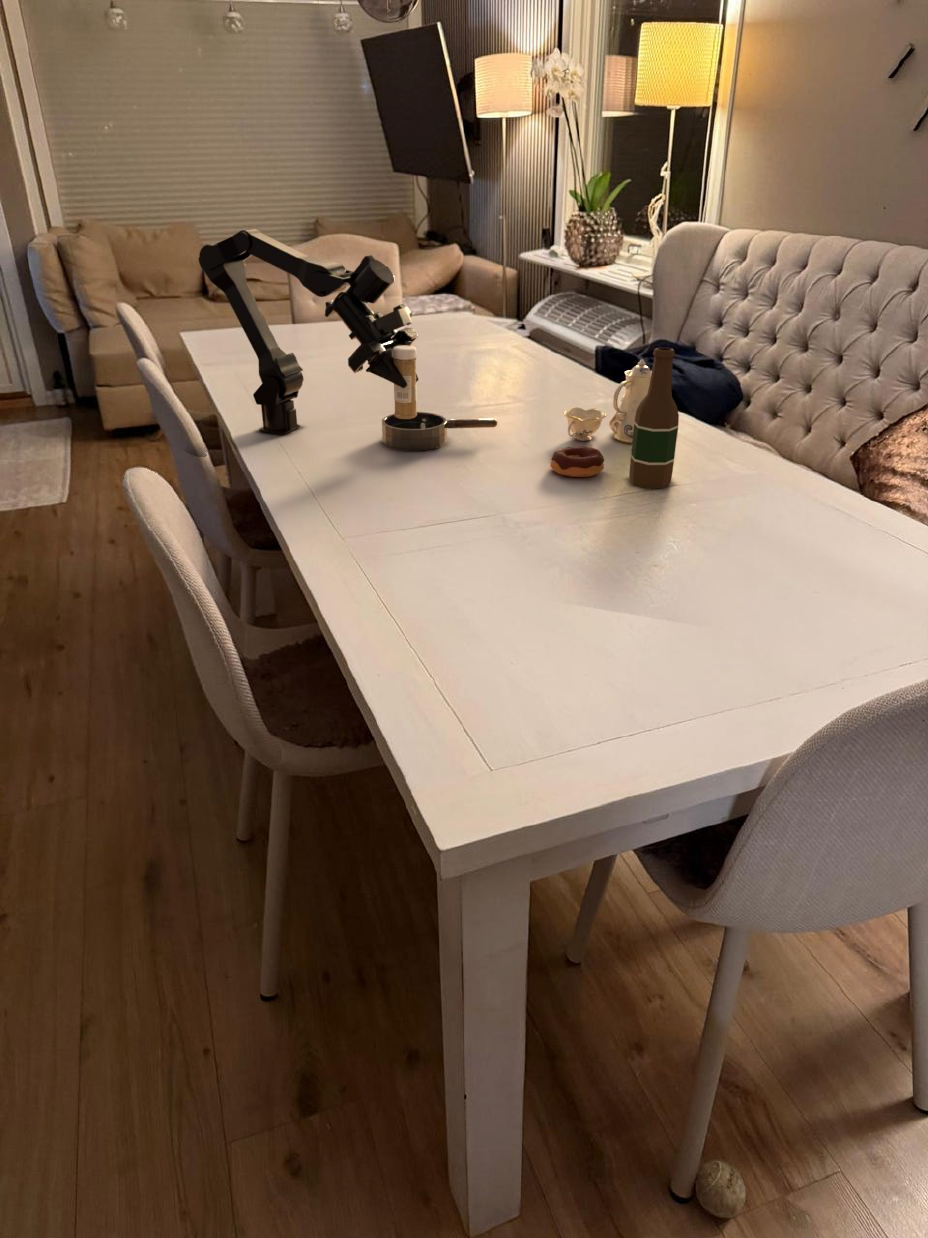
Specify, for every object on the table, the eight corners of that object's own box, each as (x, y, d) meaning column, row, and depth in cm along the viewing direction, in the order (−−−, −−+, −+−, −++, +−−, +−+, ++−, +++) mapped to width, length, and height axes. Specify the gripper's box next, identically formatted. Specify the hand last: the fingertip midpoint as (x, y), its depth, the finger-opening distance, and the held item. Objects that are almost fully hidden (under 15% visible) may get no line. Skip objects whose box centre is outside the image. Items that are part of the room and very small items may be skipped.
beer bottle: (673, 477, 167) (690, 345, 156) (668, 491, 160) (684, 354, 149) (632, 472, 169) (645, 342, 158) (624, 486, 163) (638, 351, 151)
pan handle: (445, 429, 184) (445, 420, 183) (444, 427, 185) (444, 418, 184) (497, 428, 185) (498, 419, 184) (496, 425, 186) (496, 417, 186)
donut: (543, 476, 167) (544, 455, 165) (557, 460, 175) (558, 440, 173) (597, 482, 164) (598, 461, 162) (608, 466, 172) (610, 446, 170)
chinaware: (632, 421, 205) (633, 346, 198) (695, 429, 194) (698, 350, 187) (552, 447, 188) (550, 365, 181) (617, 457, 177) (617, 371, 170)
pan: (383, 452, 179) (382, 430, 177) (381, 433, 190) (380, 412, 188) (449, 450, 180) (449, 428, 178) (443, 431, 192) (443, 410, 189)
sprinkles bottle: (421, 415, 178) (421, 346, 172) (408, 421, 175) (407, 350, 168) (402, 412, 180) (401, 343, 174) (389, 417, 177) (387, 347, 170)
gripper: (359, 298, 160) (414, 367, 162) (408, 284, 175) (458, 348, 177) (324, 338, 167) (377, 405, 168) (375, 322, 182) (423, 383, 183)
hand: (411, 384), depth 174 cm, fingers closed on sprinkles bottle, 4 cm apart
